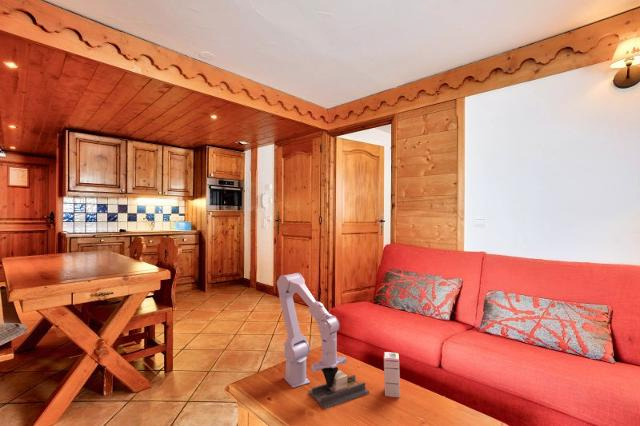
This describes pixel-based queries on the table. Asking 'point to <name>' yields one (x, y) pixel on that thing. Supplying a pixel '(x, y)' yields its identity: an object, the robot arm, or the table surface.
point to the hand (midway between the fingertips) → (329, 386)
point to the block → (339, 381)
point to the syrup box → (391, 374)
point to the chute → (338, 393)
